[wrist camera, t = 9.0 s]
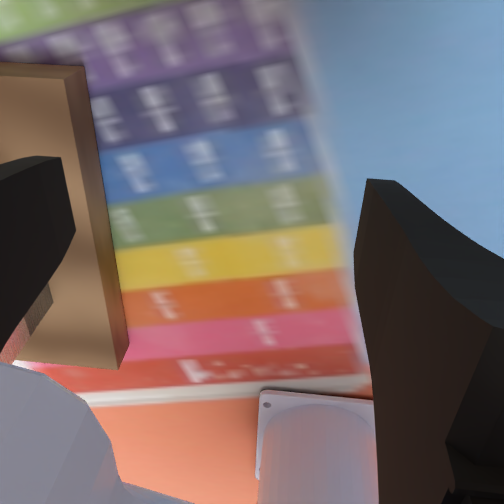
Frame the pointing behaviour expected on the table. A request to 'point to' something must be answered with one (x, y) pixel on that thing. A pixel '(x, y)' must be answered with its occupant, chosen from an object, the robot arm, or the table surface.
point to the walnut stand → (84, 212)
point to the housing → (27, 326)
